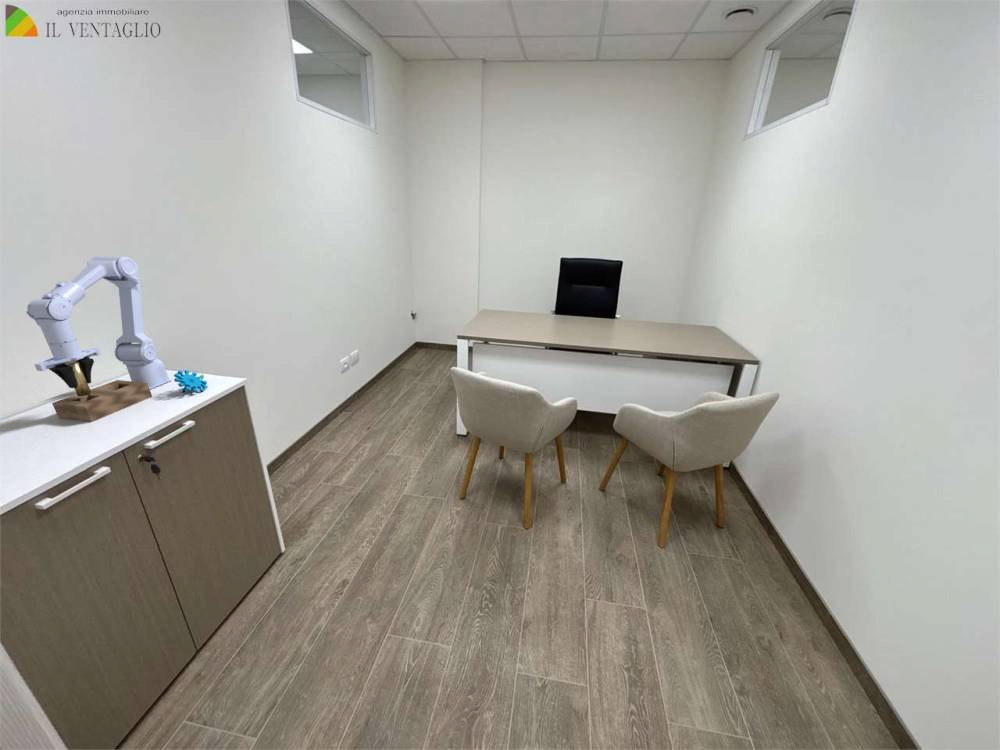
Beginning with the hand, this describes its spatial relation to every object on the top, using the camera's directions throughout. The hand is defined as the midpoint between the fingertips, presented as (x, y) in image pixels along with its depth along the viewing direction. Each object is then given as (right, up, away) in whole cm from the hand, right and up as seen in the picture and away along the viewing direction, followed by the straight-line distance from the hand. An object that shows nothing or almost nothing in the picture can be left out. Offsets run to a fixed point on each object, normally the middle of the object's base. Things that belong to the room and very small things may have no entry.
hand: (80, 385), depth 117 cm
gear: (+19, -3, +20) cm, 27 cm away
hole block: (+1, -7, +8) cm, 10 cm away
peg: (0, -3, +1) cm, 3 cm away
